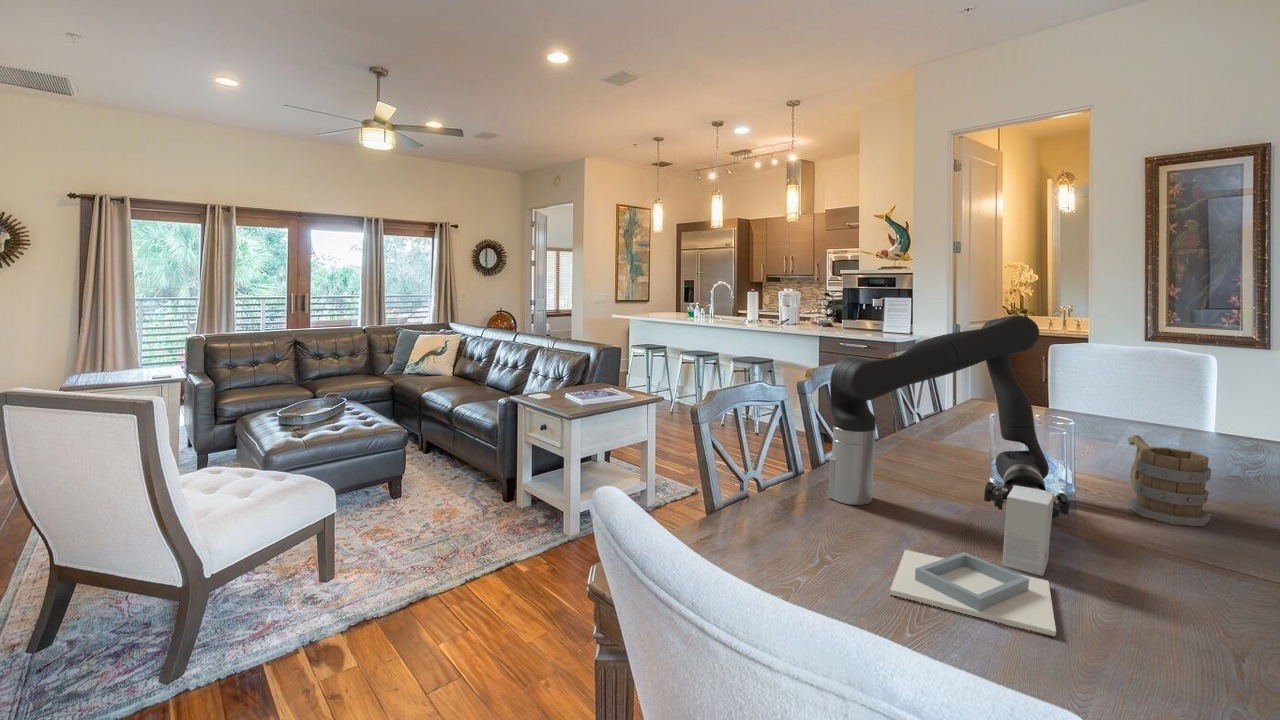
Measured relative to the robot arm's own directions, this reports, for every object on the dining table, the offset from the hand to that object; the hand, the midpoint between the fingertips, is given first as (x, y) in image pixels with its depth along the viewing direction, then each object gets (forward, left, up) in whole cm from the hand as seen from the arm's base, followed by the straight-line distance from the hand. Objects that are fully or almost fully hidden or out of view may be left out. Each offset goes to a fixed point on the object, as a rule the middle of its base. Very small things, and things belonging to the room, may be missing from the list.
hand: (1026, 509), depth 113 cm
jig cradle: (-8, -26, -7) cm, 28 cm away
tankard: (+26, +38, -7) cm, 46 cm away
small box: (0, -9, -7) cm, 12 cm away
